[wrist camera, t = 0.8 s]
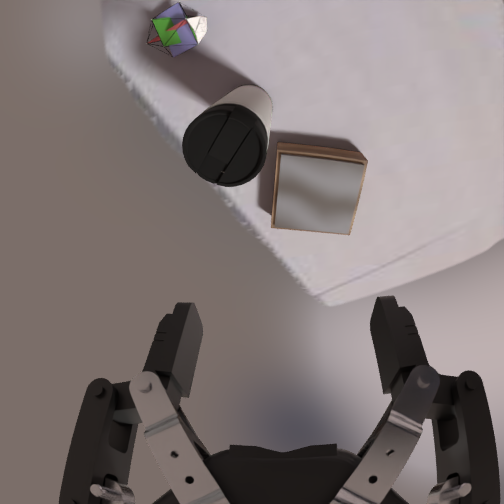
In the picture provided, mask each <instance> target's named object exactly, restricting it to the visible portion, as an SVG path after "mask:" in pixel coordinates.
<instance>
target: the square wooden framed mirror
mask: <svg viewBox="0 0 504 504" xmlns="http://www.w3.org/2000/svg"><path fill="white" fill-rule="evenodd" d="M367 163H368V161H367V159H366V158H365V157H364V155H363V154H362V153H361V152H355V151H349V150H342V149H335V148H328V147H320V146H312V145H303V144H293V143H282V142H278V143H277V156H276V169H275V182H274V194H273V205H272V218H271V228H277V229H289V230H300V231H311V232H322V233H333V234H343V235H350V233H351V229H352V226H353V222H354V218H355V214H356V210H357V206H358V202H359V198H360V194H361V190H362V186H363V181H364V177H365V172H366V168H367Z"/></svg>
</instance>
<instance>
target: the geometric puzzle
mask: <svg viewBox="0 0 504 504" xmlns="http://www.w3.org/2000/svg"><path fill="white" fill-rule="evenodd" d="M183 5H184V4H183ZM185 6H186V5H185ZM181 7H182V6H181V4H180V2H178V3H176V4H175V5H173V6H171V7H170V8H168V9H167V10H165V11H163V12H162V13H160V15H157V17H154V18H156V19H154V18H153V19H151V21H152V22H153V24H154V27H155V29H156V31H157V33H158V35H159V36H157V37H156V38H154V39H153V40H151V41H150V42H148V41H147V42H148V43H146V44H148V45H149V43H153V42H157V41H161V42H162V44H163V46H162V47H164V48H165V47H167V46H169V48H170V50H171V53H172V55H173V58H175V57H176V56H177V55H179V54H181V53H183V52H185V51H187V50H189V49H190V48H192V47H194V46H196V45H199V43H200V41H201V40H202V38H203V36H204V35H205V33H206V32H207V19H206V18H207V17H203V16H192V18H188V17H187V15H186V13H185V12H183V11H184V10H182V9H183V8H181ZM192 10H193V9H192ZM184 13H185V14H184ZM199 14H200V13H199ZM185 15H186V16H185ZM150 25H151V24H150ZM152 27H153V26H152ZM149 30H150V29H149ZM193 30H194V31H195V33H196V35H195V33H194V31H193ZM148 35H149V34H148ZM148 39H149V38H148ZM148 39H147V40H148ZM151 45H154V44H151ZM151 45H150V46H151ZM157 46H159V45H157ZM152 47H153V46H152ZM154 48H155V47H154ZM156 49H157V48H156ZM165 49H166V48H165ZM158 50H159V49H158ZM166 50H167V49H166ZM160 51H161V50H160ZM167 51H168V50H167ZM162 52H163V51H162ZM168 52H169V51H168ZM164 53H165V52H164ZM169 53H170V52H169ZM166 54H167V53H166ZM168 55H169V54H168Z"/></svg>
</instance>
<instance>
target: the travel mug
mask: <svg viewBox="0 0 504 504" xmlns="http://www.w3.org/2000/svg"><path fill="white" fill-rule="evenodd" d="M272 110H273V105H272V100H271V98H270V96H269V95H268V93H267V92H266V91H265V90H263V89H262V88H260V87H258V86H254V85H243V86H240V87H238V88H236V89H234V90H233V91H231V92H230V93H228V94H227V95H226V96H224V97H223V98H221V99H220V100H218V101H217V102H216V103H214V104H213V105H211V106H210V107H209V108H207V109H206V110H205V111H204V112H203V113H202V114H200V115H199V116H198V117H197V118H195V119H194V120H193V121H192V122H191V123H190V125H189V126H188V128H187V129H186V131H185V134H184V137H183V143H182V148H183V154H184V158H185V160H186V162H187V164H188V166H189V167H190V168H191V169H192V170H193V171H194V172H195V173H196V172H197V174H198V175H199V176H200V177H202V178H203V179H205V180H206V181H209V182H211V183H217V185H221V186H225V187H234V186H239V185H242V184H245V183H247V182H249V181H250V180H252V179H253V178H254V177H256V176H257V174H258V173H259V172H260V171H261V169H262V167H263V166H264V163H265V159H266V154H267V149H268V144H269V135H270V127H271V119H272Z"/></svg>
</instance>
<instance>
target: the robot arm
mask: <svg viewBox="0 0 504 504" xmlns="http://www.w3.org/2000/svg"><path fill="white" fill-rule="evenodd" d="M370 331H371V336H372V340H373V344H374V349H375V353H376V358H377V363H378V368H379V373H380V378H381V383H382V389H383V394H389V393H391V395H392V401H391V402H390V404H389V406H388V407H387V409H386V411H385V413H384V414H383V416H382V418H381V420H380V421H379V423H378V425H377V426H376V428H375V430H374V431H373V432H372V434H371V435H370V437H369V438H368V440H367V441H366V443H365V444H364V445H363V447H362V448H361V449H360V451H359V452H358V454H357V455H356V454H354V453H352V452H349V451H347V450H343V449H338V448H337V444H327V445H313V446H308V447H304V448H300V449H297V450H293V451H289V452H277V451H272V450H269V449H264V448H261V447H257V446H242V445H230V449H229V450H224V451H220V452H218V453H215V454H213V455H211V454H210V453H209V451H208V450H207V448H206V447H205V446H204V444H203V443H202V441H201V440H200V439H199V437H198V436H197V434H196V432H195V431H194V429H193V427H192V426H191V424H190V422H189V420H188V419H187V417H186V415H185V413H184V412H183V410H182V408H181V406H180V405H179V404H180V399H181V397H188V398H189V395H190V390H191V386H192V381H193V376H194V371H195V367H196V363H197V358H198V354H199V349H200V345H201V340H202V336H203V327H202V323H201V320H200V317H199V314H198V311H197V309H196V306H195V304H194V303H177V304H176V305H175V308H174V311H173V314H166V315H165V317H164V318H163V319H162V320H161V322H160V323H159V326H158V328H157V331H156V334H155V337H154V341H153V342H152V346H151V348H150V351H149V354H148V357H147V360H146V363H145V366H144V369H143V371H142V372H141V373H138V374H137V375H135V376H134V377H133V378H132V380H131V381H128V382H122V383H115V384H111V383H110V382H109V381H108V380H107V379H104V378H98V379H95V380H94V381H92V382H91V383H90V384H89V386H88V388H87V390H86V393H85V396H84V400H83V403H82V406H81V409H80V412H79V416H78V419H77V423H76V426H75V430H74V434H73V437H72V441H71V445H70V449H69V453H68V457H67V462H66V466H65V471H64V476H63V481H62V486H61V491H60V497H59V504H135V496H134V493H133V491H132V490H131V489H130V488H129V487H128V486H127V484H128V477H129V471H130V465H131V459H132V453H133V448H134V443H135V438H136V432H137V428H138V423H143V424H144V427H145V430H146V431H145V432H144V435H145V439H146V441H147V443H148V445H149V447H150V449H151V451H152V454H153V456H154V458H155V460H156V462H157V464H158V466H159V467H160V469H161V471H162V473H163V475H164V477H165V479H166V480H167V482H168V484H169V486H170V488H171V489H170V490H169V491H168V492H166V493H165V494H164V495H163V496H161V497H160V498H159V499H157V500H156V501H155V502H154V503H153V504H409V503H408V502H406V501H405V500H404V499H403V498H402V497H401V496H400V495H399V494H398V493H397V492H396V491H395V490H393V489H392V488H391V487H392V485H393V484H394V482H395V481H396V479H397V477H398V476H399V474H400V472H401V471H402V469H403V468H404V466H405V464H406V462H407V460H408V459H409V457H410V455H411V453H412V452H413V450H414V448H415V446H416V444H417V442H418V440H419V438H420V436H421V434H422V430H423V429H422V425H423V422H424V420H425V418H426V419H432V426H433V434H434V443H435V453H436V466H437V485H436V486H434V487H433V488H432V489H431V491H430V493H429V495H428V499H427V504H500V480H499V467H498V458H497V450H496V443H495V436H494V430H493V425H492V420H491V415H490V410H489V406H488V402H487V397H486V393H485V390H484V386H483V382H482V379H481V377H480V376H479V375H478V374H477V373H476V372H474V371H464V372H462V373H461V374H460V375H459V377H454V376H446V375H441V374H438V372H437V371H436V370H435V369H434V368H433V367H431V366H430V365H429V363H428V361H427V358H426V355H425V351H424V348H423V345H422V342H421V339H420V336H419V335H418V330H417V328H416V326H415V322H414V319H413V316H412V314H411V313H410V312H409V311H408V310H407V309H406V308H405V307H398V304H397V301H396V299H395V297H394V296H383V297H377V299H376V302H375V305H374V309H373V313H372V316H371V320H370Z"/></svg>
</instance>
